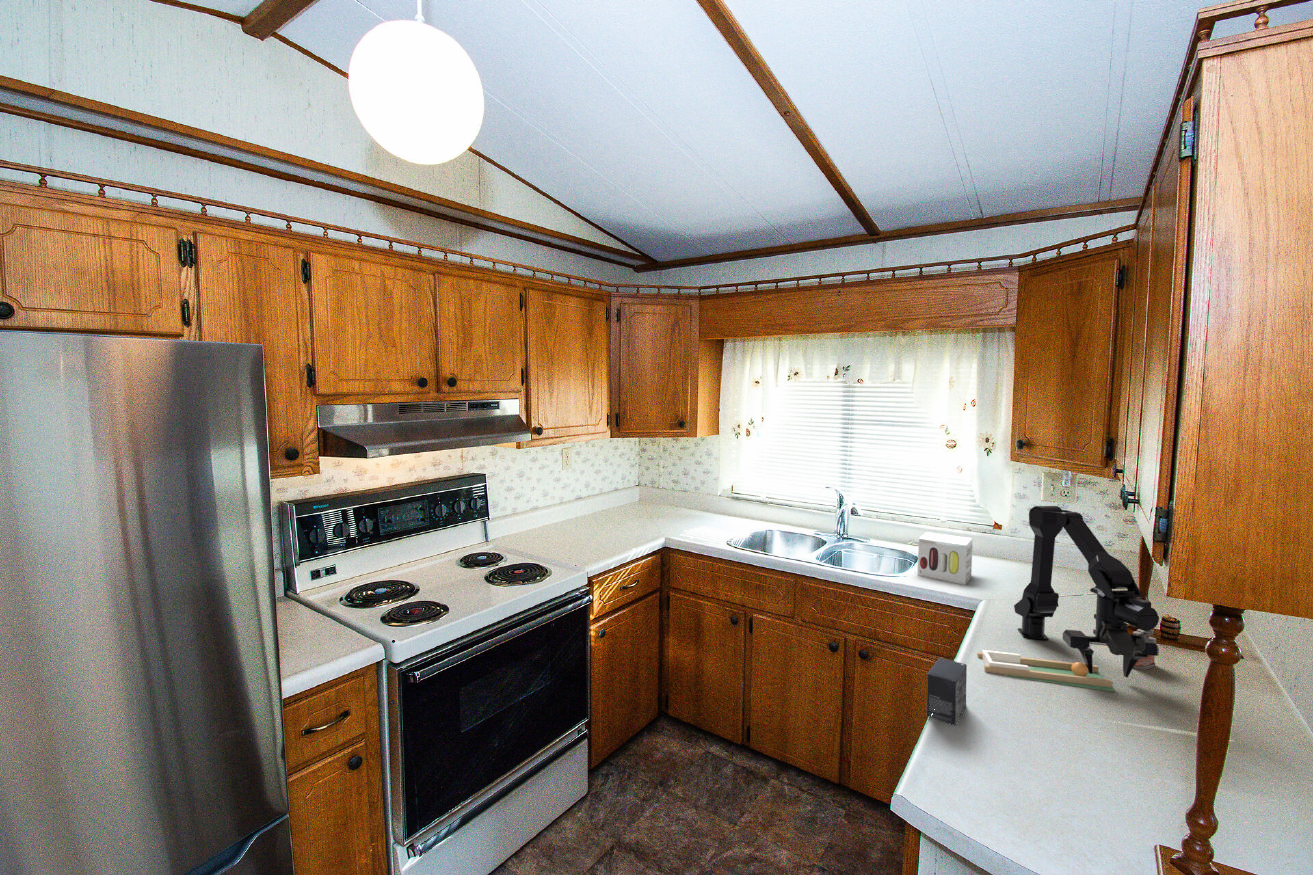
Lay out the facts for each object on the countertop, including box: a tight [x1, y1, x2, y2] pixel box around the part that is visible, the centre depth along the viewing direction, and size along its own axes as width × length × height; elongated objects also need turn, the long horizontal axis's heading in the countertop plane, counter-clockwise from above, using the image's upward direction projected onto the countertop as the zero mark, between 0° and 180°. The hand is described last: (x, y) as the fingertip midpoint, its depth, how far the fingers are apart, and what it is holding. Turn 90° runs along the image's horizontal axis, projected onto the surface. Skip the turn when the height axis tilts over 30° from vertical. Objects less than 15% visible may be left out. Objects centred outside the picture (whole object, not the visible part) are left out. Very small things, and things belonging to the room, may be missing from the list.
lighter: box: [1132, 628, 1157, 671], centre depth 156 cm, size 8×3×10 cm, turn 105°
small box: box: [926, 657, 968, 726], centre depth 133 cm, size 11×6×10 cm, turn 141°
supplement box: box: [917, 531, 974, 586], centre depth 226 cm, size 17×13×18 cm
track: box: [976, 651, 1115, 692], centre depth 152 cm, size 11×28×2 cm, turn 73°
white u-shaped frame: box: [981, 649, 1030, 671], centre depth 154 cm, size 8×9×2 cm
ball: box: [1071, 661, 1089, 677], centre depth 149 cm, size 4×4×4 cm
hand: (1107, 674), depth 148 cm, fingers open, 7 cm apart
